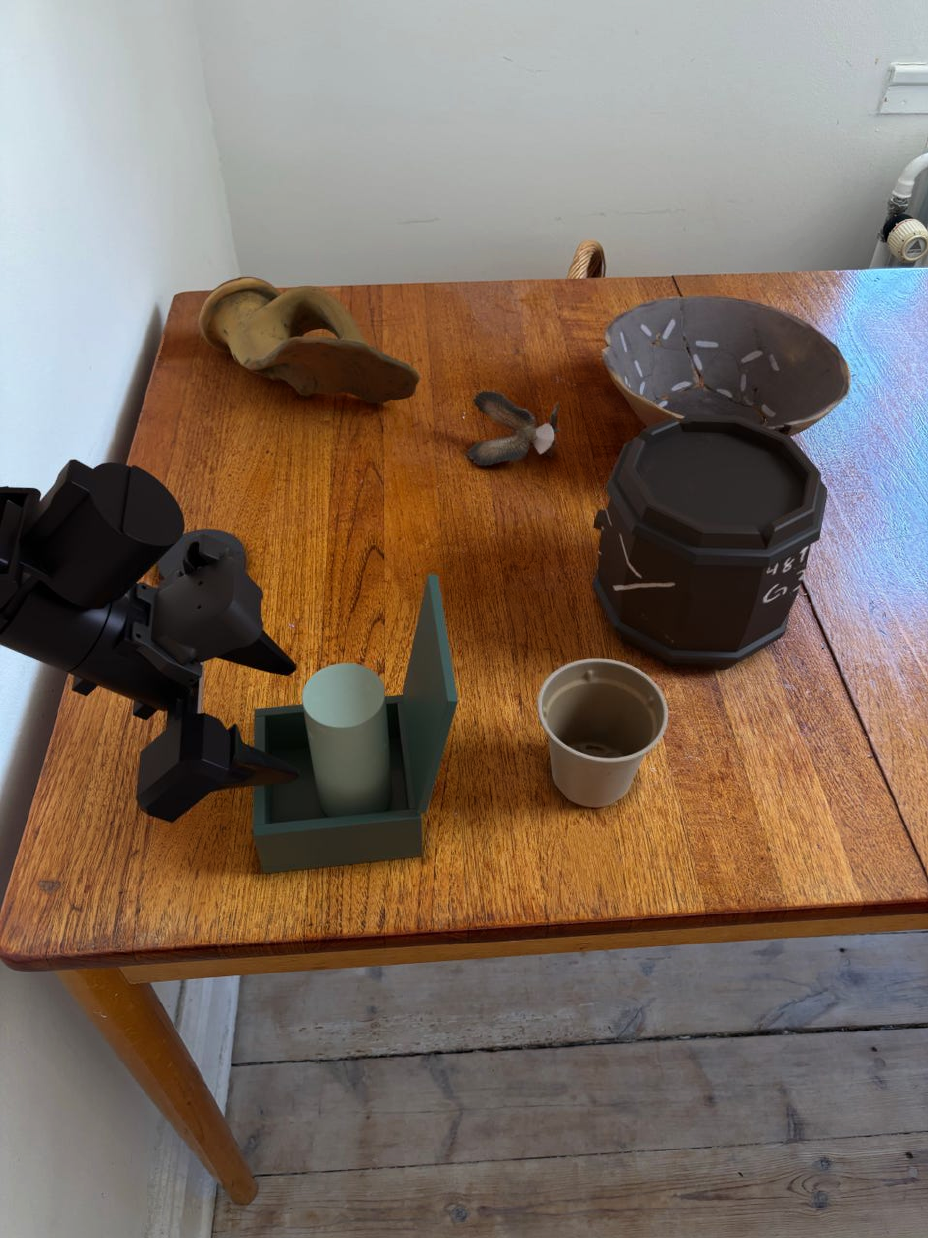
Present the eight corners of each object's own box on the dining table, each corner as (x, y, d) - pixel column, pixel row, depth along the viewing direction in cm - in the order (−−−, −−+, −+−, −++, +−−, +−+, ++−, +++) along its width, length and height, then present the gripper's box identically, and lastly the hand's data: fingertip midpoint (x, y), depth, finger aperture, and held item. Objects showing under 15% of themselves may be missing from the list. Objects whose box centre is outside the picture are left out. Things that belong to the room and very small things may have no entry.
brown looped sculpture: (235, 412, 99) (168, 278, 109) (282, 485, 110) (217, 357, 121) (401, 323, 100) (318, 199, 110) (431, 405, 111) (353, 285, 122)
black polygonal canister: (611, 520, 100) (633, 384, 88) (795, 564, 96) (843, 428, 84) (560, 647, 88) (577, 510, 77) (768, 704, 84) (818, 568, 73)
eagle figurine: (550, 415, 110) (469, 402, 108) (568, 390, 103) (481, 376, 101) (544, 482, 108) (462, 470, 107) (563, 461, 101) (475, 448, 100)
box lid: (447, 701, 61) (458, 701, 61) (427, 573, 68) (437, 574, 69) (416, 814, 70) (426, 814, 70) (402, 690, 77) (411, 690, 77)
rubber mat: (167, 604, 91) (164, 596, 90) (153, 547, 96) (151, 539, 96) (254, 583, 93) (252, 575, 92) (236, 528, 98) (235, 520, 98)
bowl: (861, 497, 102) (893, 415, 95) (626, 520, 100) (640, 437, 92) (772, 361, 119) (793, 283, 112) (568, 377, 117) (577, 298, 109)
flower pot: (550, 839, 75) (559, 772, 69) (516, 739, 81) (522, 669, 75) (668, 814, 77) (688, 747, 70) (626, 718, 83) (641, 648, 77)
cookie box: (263, 874, 73) (252, 835, 69) (263, 749, 80) (254, 708, 76) (423, 856, 74) (421, 817, 70) (408, 735, 81) (406, 693, 78)
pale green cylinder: (329, 835, 74) (313, 737, 65) (310, 775, 78) (292, 675, 69) (402, 812, 76) (395, 713, 67) (379, 754, 79) (371, 653, 70)
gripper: (151, 676, 50) (383, 778, 59) (173, 448, 63) (362, 561, 72) (36, 783, 55) (267, 862, 64) (78, 552, 68) (266, 645, 77)
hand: (294, 721), depth 69 cm, fingers open, 9 cm apart
